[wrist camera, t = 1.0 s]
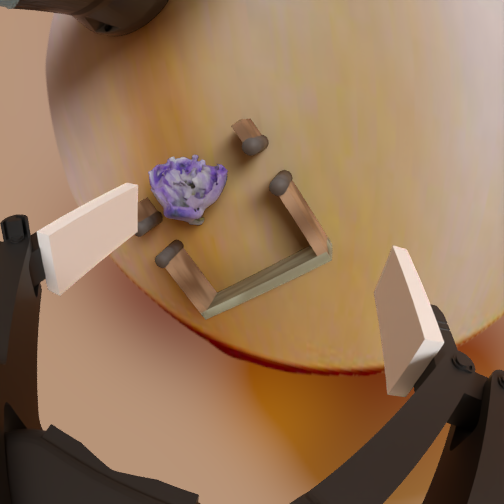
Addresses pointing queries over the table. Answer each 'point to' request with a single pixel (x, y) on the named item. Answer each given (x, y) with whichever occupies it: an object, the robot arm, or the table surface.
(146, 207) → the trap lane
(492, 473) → the robot arm
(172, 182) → the flower
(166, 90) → the table surface
